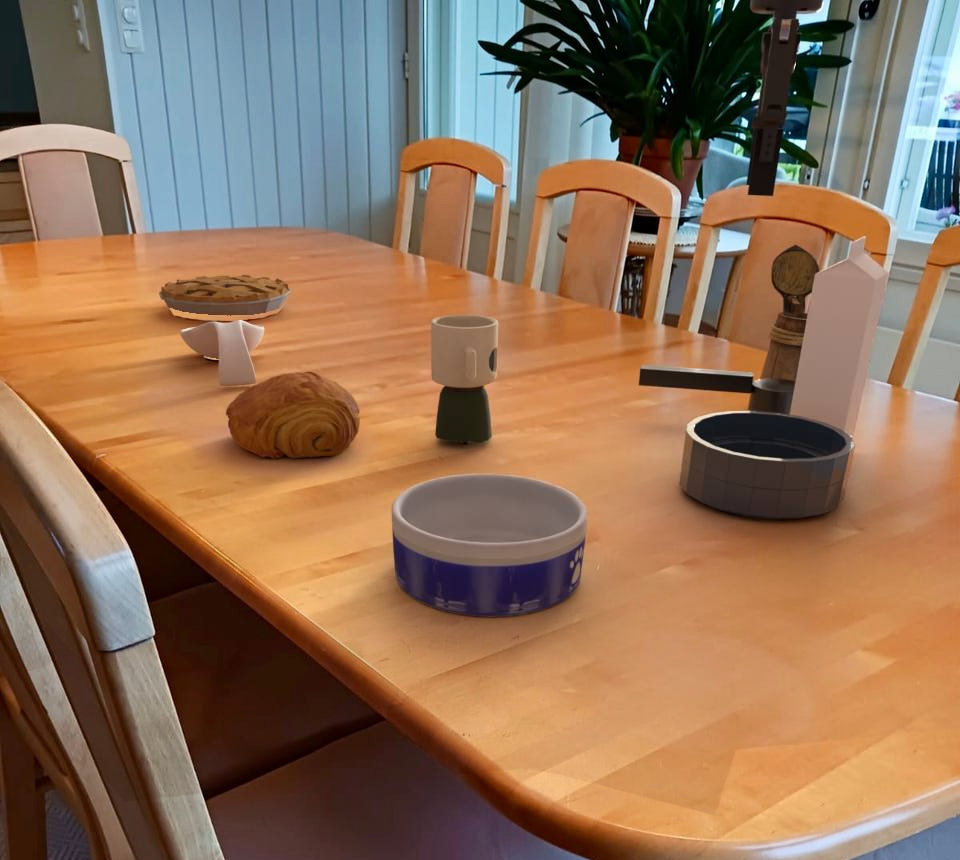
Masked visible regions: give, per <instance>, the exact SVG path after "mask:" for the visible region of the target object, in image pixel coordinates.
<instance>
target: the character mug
mask: <svg viewBox="0 0 960 860" xmlns="http://www.w3.org/2000/svg"><path fill="white" fill-rule="evenodd" d="M430 332H431V333H430V351H431V352H430V355H431V357H430V360H431V361H430V363H431V366H430V368H431V369H430V371H431V373H430V375H431V380H432V381H433V382H434V383H436V384H438V385H441V386H443V387H442V388H441V390H440V392H439V396H438V405H437V411H436V419H435V420H436V421H435V430H434V431H435V433H434V435H435V438H436V439H439V440H441V441H447V442H457V443H458V442H459V443H462V445H464V446H467V445H468V443H476V444H478V443H479V444H480V443H484V442H488V441H489V440H490V439H491V438H492V435H493V434H492V421H491V420H492V419H491V411H490V410H491V409H490V403H489V395H488V393H487V391H486V386H488V385H489V384H492V383H495V381H496V380H497V376H498V355H499V354H498V351H499V350H498V349H499V347H498V345H499V321H498V319H495V318H493V317H488V316H484V315H477V314H476V315H475V314H448V315H442V316H441V315H440V316H437V317H435V318H432V320H431V323H430Z"/></svg>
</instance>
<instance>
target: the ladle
mask: <svg viewBox="0 0 960 860" xmlns="http://www.w3.org/2000/svg"><path fill="white" fill-rule="evenodd" d="M638 386H640V387H641V386H642V387H654V388H670V389H680V390H681V389H683V390H695V391H696V390H697V391H709V392H722V393H735V394H736V393H737V394H749V399H748V405H747V406H748V407H747V411H763V412H775V413H783V414H789V415H790V410H791V404H792V399H793V393H794V388H795V381H791V380H785V379H775V378H766V379H760V378H759V379H755V380H754V372H753V371H752V372H751V371H739V370H738V371H737V370H723V369H710V368H696V367H695V368H693V367H682V366H681V367H680V366H665V365H653V364H652V365H651V364H641V365H640V369H639V377H638Z"/></svg>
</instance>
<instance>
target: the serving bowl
mask: <svg viewBox="0 0 960 860" xmlns="http://www.w3.org/2000/svg"><path fill="white" fill-rule="evenodd" d="M685 427H686V428H685V435H684V442H683V451H682V460H681V467H680V475H679V482H678V484H679V486H680V488H682V491H684V492H685V494H687V495H688V496H690V497H692V498H693V499H695V500H696V501H698V502H700V503H702V504H705V505H707V506H709V507H711V508H713V509H715V510H718V511H722V512H725V513H729V514H733V515H737V516H742V517H747V518H753V519H754V518H755V519H762V520H763V519H764V520H794V519H796V520H797V519H804V518H808V517H813V516H818V515H824V514H826V513H828V512H831V511H833V510H835V509H837V508H839V506H840V505H841V503H842V502H843V501H844V499H845V494H846V490H847V487H848V486H847V485H848V482H849V481H848V480H849V476H850V472H851V467H852V463H853V458H854V453H855V448H856V444H855V440H854V437H853V438H852V437H851V436H850V435H848V434H847V433H846V432H844V431H843V430H841V429H839V428H837V427H834V426H832V425H829V424H827V423H824V422H821V421H817V420H813V419H809V418H806V417H802V416H795V415H789V414H783V413H775V412H763V411H748V410H726V411H719V412H718V411H717V412H711V413H708V414H704V415H701V416H696V417H695V418H694V419H691V420H690V421H689V422H687V424H686V426H685Z"/></svg>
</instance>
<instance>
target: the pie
mask: <svg viewBox="0 0 960 860" xmlns="http://www.w3.org/2000/svg"><path fill="white" fill-rule="evenodd" d="M291 292H292V291H291V289H290V288H289V284H288V283H285V281H283V280H281V278H276V279H274V280H272V279H270V277H265V276H261V277H252V276H251V275H248V274H242V275H238V276H230V275H215V276H210V277H209V276H206V275H204V276H196V277H195V278H190V279H176V282H172V281H168V282H167V283H164V286H161V289H160V291H159V293H158V294H159V298H160V299H161V300H163V301H164V303H165V305H166V306H167V308H168V307H169V308H173V309H175V310H179V311H182V312H189V313H196V314H208V315H227V316H228V315H230V316H231V315H254V314H260V313H266V312H269V311H273V310H276V309H279V308H280V307H281V306H282V305H283V304H284V305H285V304H286V301H287V299H288V296H289V295H290V294H291ZM169 308H168V309H169Z"/></svg>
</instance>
